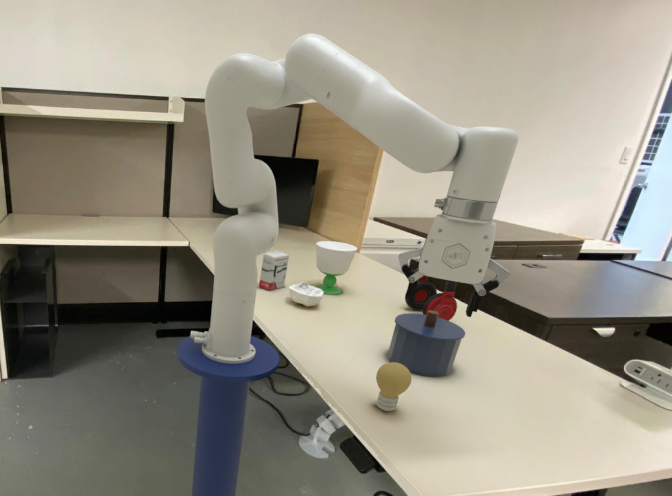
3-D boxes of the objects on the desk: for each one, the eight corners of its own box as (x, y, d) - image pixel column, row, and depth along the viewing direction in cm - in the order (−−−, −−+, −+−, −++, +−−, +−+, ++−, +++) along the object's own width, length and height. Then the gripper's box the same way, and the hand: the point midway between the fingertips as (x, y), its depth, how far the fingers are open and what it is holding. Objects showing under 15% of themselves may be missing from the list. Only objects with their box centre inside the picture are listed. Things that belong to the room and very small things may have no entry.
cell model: (300, 312, 142) (304, 291, 139) (281, 298, 152) (284, 278, 149) (328, 310, 145) (332, 289, 142) (307, 297, 155) (311, 277, 152)
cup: (356, 293, 163) (365, 249, 156) (329, 298, 156) (338, 252, 149) (326, 282, 173) (334, 239, 166) (300, 286, 166) (307, 242, 159)
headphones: (398, 306, 154) (414, 246, 146) (427, 307, 155) (444, 248, 146) (423, 327, 138) (442, 261, 130) (455, 328, 139) (476, 263, 130)
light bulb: (390, 398, 98) (402, 356, 94) (408, 415, 92) (421, 371, 88) (363, 400, 96) (373, 357, 92) (379, 417, 91) (392, 372, 87)
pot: (396, 372, 109) (406, 336, 105) (381, 346, 122) (390, 313, 118) (460, 380, 108) (472, 343, 104) (438, 352, 122) (448, 319, 118)
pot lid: (404, 339, 105) (409, 320, 103) (387, 314, 119) (391, 297, 117) (475, 346, 104) (481, 328, 102) (449, 321, 118) (454, 304, 116)
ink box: (269, 291, 158) (274, 256, 153) (258, 286, 161) (262, 253, 157) (284, 286, 164) (289, 253, 159) (273, 283, 167) (278, 250, 162)
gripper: (410, 205, 76) (385, 304, 83) (533, 221, 70) (494, 326, 77) (413, 201, 82) (389, 293, 89) (525, 215, 76) (490, 313, 83)
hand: (438, 308), depth 83 cm, fingers open, 9 cm apart
